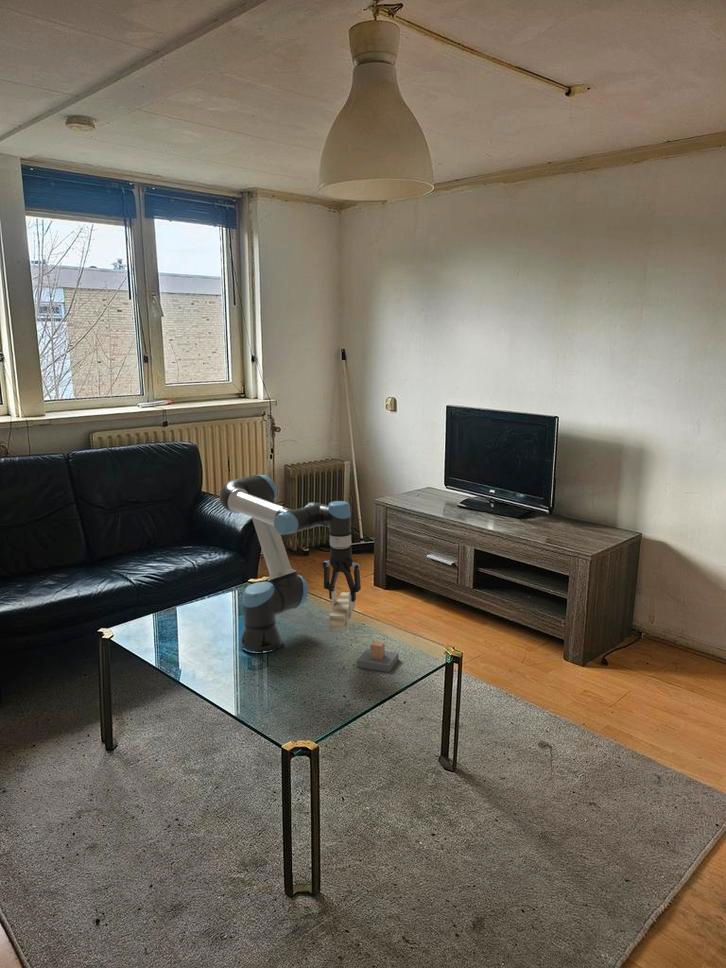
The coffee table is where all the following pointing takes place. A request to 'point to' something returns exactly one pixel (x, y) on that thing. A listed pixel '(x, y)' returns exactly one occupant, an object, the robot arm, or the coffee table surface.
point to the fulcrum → (377, 658)
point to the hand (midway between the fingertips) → (342, 608)
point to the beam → (341, 612)
